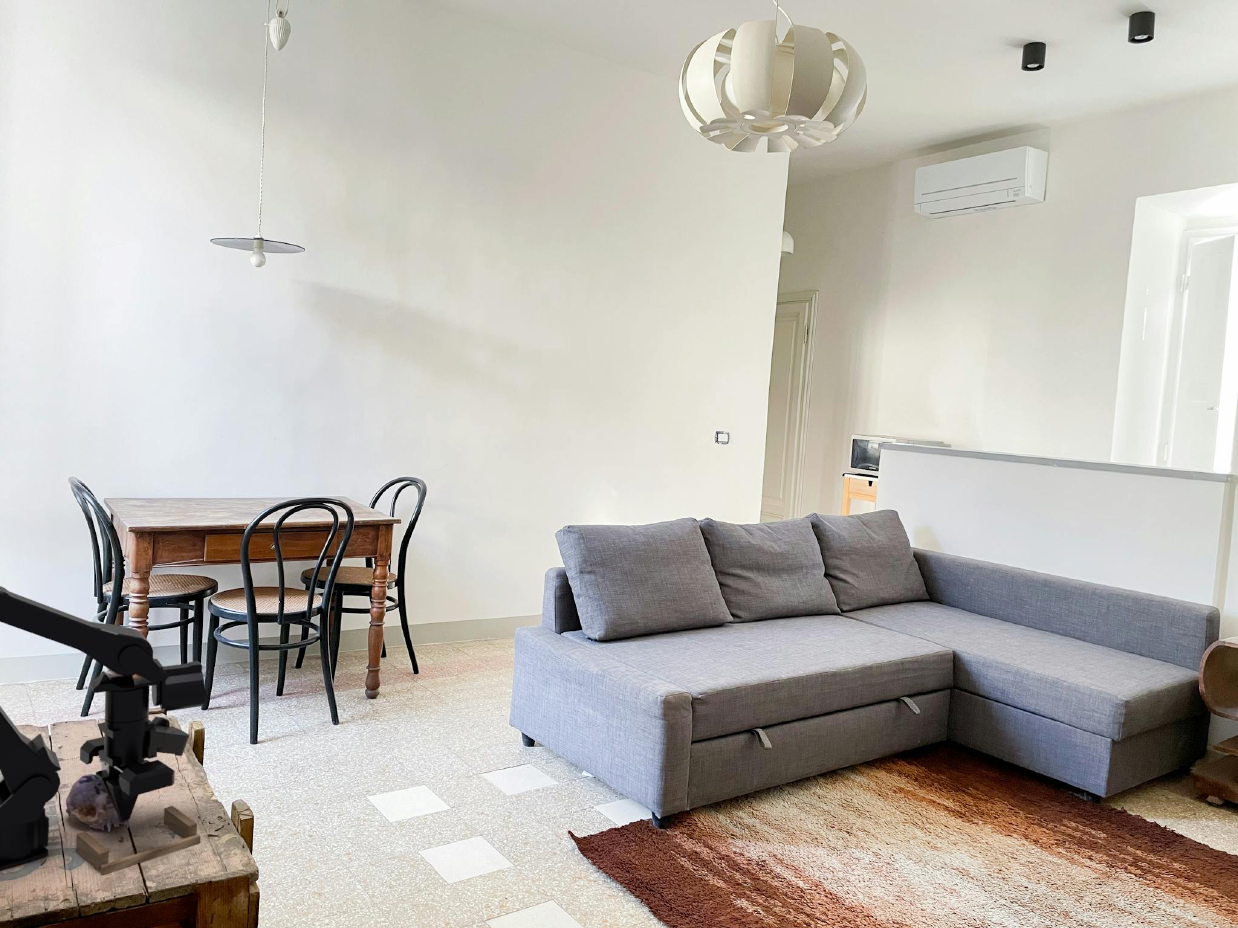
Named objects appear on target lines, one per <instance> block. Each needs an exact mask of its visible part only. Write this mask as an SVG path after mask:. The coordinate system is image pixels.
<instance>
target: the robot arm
mask: <svg viewBox="0 0 1238 928" xmlns="http://www.w3.org/2000/svg"><path fill="white" fill-rule="evenodd" d="M0 623H3V624H5V625H8V626H11V627H14V628H17V629H19V630H22V631H25V632H27V633H30V634H33V635H36V636H40V637H41V638H44V639H48V640H50V641H53V642H55V643H57V644H61V645H64V646H67V647H70V648H72V649H75V650H78V651H80V652H81V653H83V654H85V655H86V656H88V657H90V658H91V659H92V660H94V661H96V662H97V663H99V664H100V665H102V666H103V667H106V668H107V669H109V670H111V671H112V672H114V673H116V674H115V675H109V674H108V673H107V672H106V671H101V672H100V673H99V674H98V676H97V677H95V679H93V680H92V681H91V682H90V683H89V687H90V688H91V691H92V692H93V693H95V694H96V693H97V694H98V693H104V694H105V695H104V697H105V699H104V722H103V721H102V722H99V724H98V725H99V728H98V729H99V730H98V731H100V732H102V733H103V734H104V736H101V737H98V738H93V739H87V740H86V741H85V742H84V743H83V744H82V745H81V746H80V748H79V760H80V761H81V762H82V763H84V764H86V765H91V764H92V762H93V761H94V757H98V758H99V763H101V770H98V771H96V772H95V775H96V776H97V777H98V778H99V780H100V782H101V784H102V786H103V788H104V789H105V791H106V793H107V795H108V797H109V799H110V801H111V802H112V804H113V806H114V808H115V810H116V812H117V814H118V816H119V818H120V820H122V821H126V820H129V821H130V819H131V817H132V813H133V811H134V808H135V806H136V803H137V800H138V797H139V795H142V794H146V793H150V792H154V791H157V790H161V789H166V788H168V787H172V786H173V785H174V784H175V772H176V771H175V770H174V769H172V767H170V766H168V765H167V764H165V763H164V762H162V761H161V760H159V759H155V760H151V759H154V758H157V757H158V753H161V754H170V755H175V756H177V757H182V756H183V755H184V751H185V749H186V746H187V743H188V741H189V738H190V734H189V733H187V732H185V731H184V730H182V729H180V728H177V727H175V726H171V724H170V720H169V719H167V718H165V717H163V716H155V717H154V718H153V719H152V720H151V719H149V717H150V715H149V714H150V686H151V700H152V705H153V707H158V706H160V711H161V712H162V713H165V712H171V711H179V710H186V709H190V708H191V709H192V708H198V707H203V706H204V705H205V703H206V697H207V687H206V686H205V679H204V678H205V676H204V674H203V664H202V663H201V662H200V661H199V660H198V661H197V660H196V661H189V662H186V663H184V664H183V663H182V664H172V665H165V666H163V665H162V664H161V662H160V661H159V660H158V658H154V650H153V646H152V644H151V643H150V641H149V640H148V639H147V638H146V637H145V636H144V635H143V633H142V632H141V631H139V630H137V629H135V628H132V627H127V626H122V625H118V624H117V625H116V624H109V623H101V622H93V621H88V620H86V619H84V618H81V617H78V616H76V615H74V614H73V615H72V614H70V613H68V612H65V611H62V610H60V609H57V608H54V607H52V606H49V605H46V604H44V603H42V602H41V603H40V602H39V601H36V600H33V599H30V598H28V597H25V596H23V595H19V594H18V593H15V592H12V591H9V590H8V589H7V588H5V587H4V586H0ZM135 675H136V676H139V677H134V676H135ZM42 735H43V734H42V733H39V734H37V735H36V736H35V737H33V738H32V739H31V738H28V737H27V736H26V735H24V734H23V733H22V732H21V731H19V729H18V728H17V726H16V725H15V723H13V721H12V719H10V717H9V716H8V715H7V712H5V710H4V709H3V707H2V706H1V705H0V773H1V775H2V779H1V780H0V870H3V869H7V868H10V867H14V866H17V865H21V864H23V863H28V862H31V861H35V860H36V859H37V860H38V859H40V858H43V857H47V856H49V855H50V850H49V849H48V848H46V847H47V846H48V845H49V840H50V839H49V837H50V836H49V834H50V831H49V830H50V817H48V815H46V808H45V806H46V804H47V803H49V802H50V801H51V800H52V799H53V798H54V797H55V796H56V794H57V793H58V791H59V789H60V785H61V778H60V775H59V772H60V771H61V770H62V768H61V765H60V764H61V763H59V759H58V756H57V752H55V751H53V750H51V749H50V748H49V747H48V746H47V744H46V742H45V740H44V737H43V736H42ZM149 760H151V761H149Z"/></svg>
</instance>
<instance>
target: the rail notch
mask: <svg viewBox="0 0 1238 928" xmlns="http://www.w3.org/2000/svg"><path fill="white" fill-rule="evenodd" d="M163 825H164V826H166V828H168V829H170V830H171V831H172V832H174V833H175V834H176V835H178V836H179V837H181V838H182V839H178V840H175V841H172V842H169V843H167V844H166V843H165V844H163V845H160V846H157V847H154V848H152V849H148V850H145V851H141V852H137V853H135V854H132V855H129V856H126V857H123V858H119V859H116V860H114V861H110V862H109V858H110V855H109V852H110V851H109V849H107V848H106V846H104V845H103V844H102V843H101V842H99V841H98V840H97V839H96V838H95V837H93V836H92V835H91V834H89V832H87V831H85V830H84V831H81V832H78V833H76V834H75V835H76V836H75V838H76V839H75V851H76V852H77V853H78V855H80V857H82V858H83V859H84V860H86V862H87V863H89V864H90V865H91V866H92V867H93V868H94V869H95V870H97V872H99V873H100V874H101V875H102V876H104V875H106V874H109V873H112V872H115V871H116V872H117V871H118V870H122V869H124V868H128V867H131V866H133V865H136V864H140V863H143V862H146V861H149V860H152V859H155V858H157V857H160V856H164V855H167V854H169V853H173V852H176V851H179V850H182V849H185V848H188V847H191V846H195V845H198V844H200V843H201V835H200V834H198V823H197V822H196V821H195V820H193V819H192V818H190V817H189V816H188V815H186V814H185V813H183V812H182V811H180V810H179V809H177V808H176V807H175V806H174V805H170V806H167V807H164V808H163Z"/></svg>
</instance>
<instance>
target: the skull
mask: <svg viewBox="0 0 1238 928" xmlns="http://www.w3.org/2000/svg"><path fill="white" fill-rule="evenodd" d="M65 806H66V809H65V813H66V814H68V816H69V817H75V818H76V819H77V820H79V822H82V823H83V824H87V825H88V826H89V827H90V828H93V829H99V830H102V831H104V828H105V826H106V827H107V831H108V832H109V833H110V831H111V828H112V825H114V827H115V828H116V827H120V825H124V826H126V828H127V829H128V828H129V825H130V819H129V820H126V821H122V820H120V818H119V816H118V814H117V812H116V810H115V808H114V806H113V804H112V802H111V801H110V799H109V797H108V795H107V793H106V791H105V789H104V788H103V786H102V784H101V782H100V780H99V778H98V777H97V776H96V774H93V773H89V774H84V775H81V777H79V779H77V780H76V781H75V782H73V785H72V786H71V788H70V791H69V793H68V795H67V797H66V798H65Z"/></svg>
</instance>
